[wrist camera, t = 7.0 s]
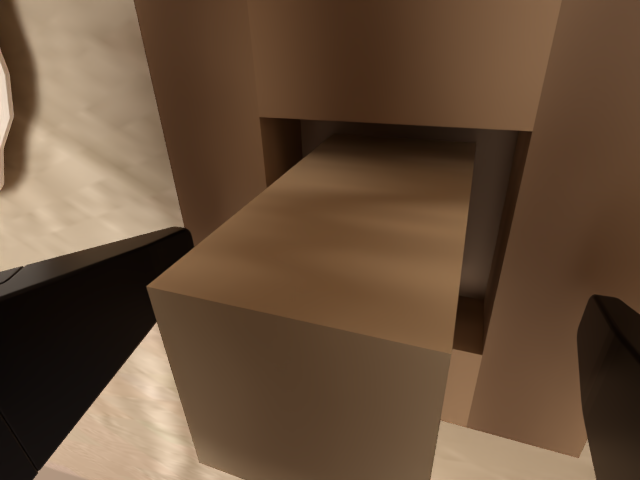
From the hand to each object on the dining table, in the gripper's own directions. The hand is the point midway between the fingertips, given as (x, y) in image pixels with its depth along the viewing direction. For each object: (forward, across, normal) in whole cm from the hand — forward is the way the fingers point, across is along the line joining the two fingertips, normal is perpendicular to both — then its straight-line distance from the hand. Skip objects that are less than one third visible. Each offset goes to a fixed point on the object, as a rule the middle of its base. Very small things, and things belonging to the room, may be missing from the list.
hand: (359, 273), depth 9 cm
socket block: (+4, 0, 0) cm, 4 cm away
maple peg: (+4, 0, 0) cm, 4 cm away
